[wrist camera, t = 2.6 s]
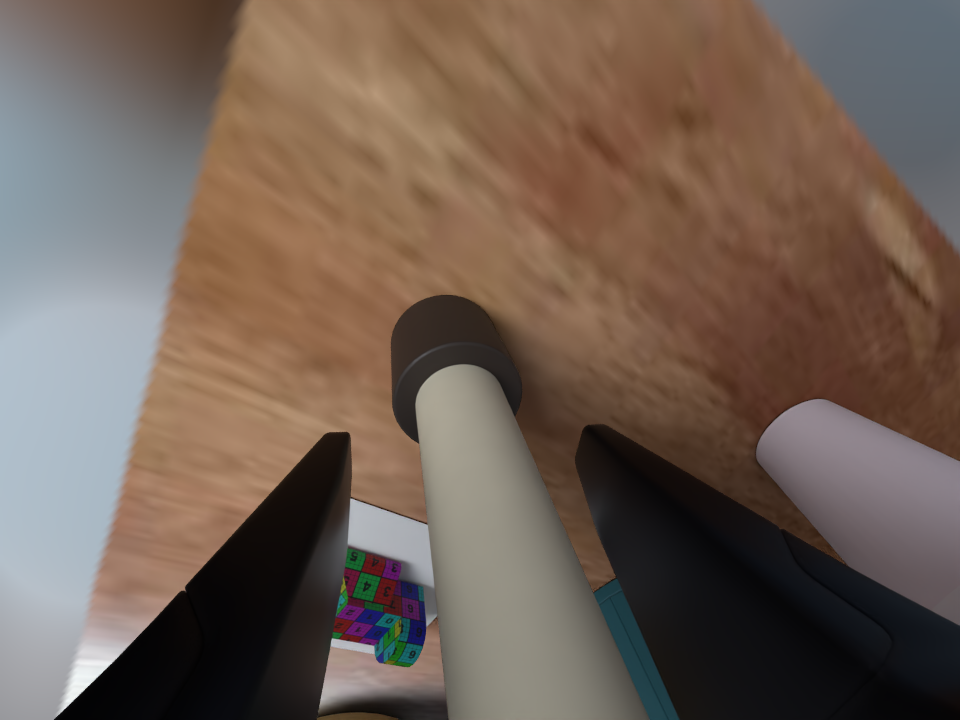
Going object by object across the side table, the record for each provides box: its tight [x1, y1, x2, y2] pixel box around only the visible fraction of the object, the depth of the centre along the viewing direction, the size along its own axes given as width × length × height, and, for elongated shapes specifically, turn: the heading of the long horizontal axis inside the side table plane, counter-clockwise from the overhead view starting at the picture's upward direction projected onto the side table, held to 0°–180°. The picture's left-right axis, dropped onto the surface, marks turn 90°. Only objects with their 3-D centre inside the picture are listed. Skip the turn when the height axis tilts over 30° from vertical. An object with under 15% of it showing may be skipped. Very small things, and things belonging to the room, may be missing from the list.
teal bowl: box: [593, 578, 679, 720], centre depth 19 cm, size 10×10×6 cm
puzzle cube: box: [332, 547, 427, 667], centre depth 15 cm, size 4×3×2 cm, turn 53°
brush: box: [391, 295, 650, 720], centre depth 8 cm, size 3×3×10 cm
